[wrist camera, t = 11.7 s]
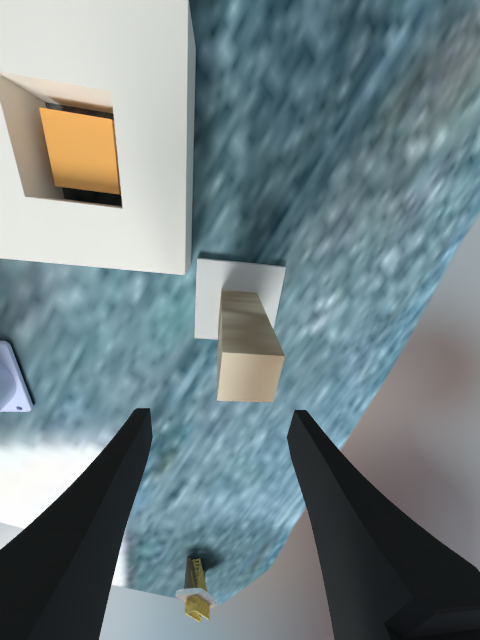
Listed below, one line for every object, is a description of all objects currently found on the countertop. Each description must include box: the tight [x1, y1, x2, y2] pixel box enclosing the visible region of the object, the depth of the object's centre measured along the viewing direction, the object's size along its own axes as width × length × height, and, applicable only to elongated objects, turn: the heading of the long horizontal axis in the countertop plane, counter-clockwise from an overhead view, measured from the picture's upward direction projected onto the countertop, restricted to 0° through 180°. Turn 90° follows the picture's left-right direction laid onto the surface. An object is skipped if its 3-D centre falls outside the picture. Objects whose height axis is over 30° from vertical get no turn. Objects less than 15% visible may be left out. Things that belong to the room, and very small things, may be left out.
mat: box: [195, 258, 286, 339], centre depth 20 cm, size 7×7×1 cm
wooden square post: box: [217, 290, 285, 402], centre depth 15 cm, size 3×3×9 cm
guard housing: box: [0, 0, 196, 275], centre depth 13 cm, size 12×12×4 cm
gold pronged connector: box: [176, 557, 216, 622], centre depth 40 cm, size 12×18×7 cm, turn 19°
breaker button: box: [39, 107, 121, 195], centre depth 14 cm, size 4×4×2 cm
